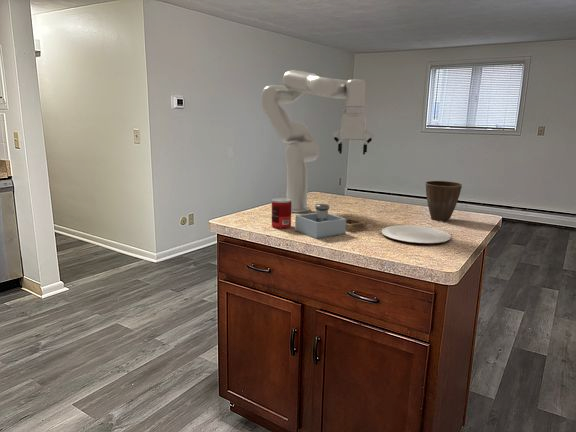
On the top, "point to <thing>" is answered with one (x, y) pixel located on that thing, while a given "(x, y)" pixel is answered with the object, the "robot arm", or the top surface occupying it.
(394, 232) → the plate
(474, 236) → the top surface
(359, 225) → the socket block
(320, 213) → the peg
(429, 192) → the plant pot
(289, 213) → the canned food
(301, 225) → the bin
